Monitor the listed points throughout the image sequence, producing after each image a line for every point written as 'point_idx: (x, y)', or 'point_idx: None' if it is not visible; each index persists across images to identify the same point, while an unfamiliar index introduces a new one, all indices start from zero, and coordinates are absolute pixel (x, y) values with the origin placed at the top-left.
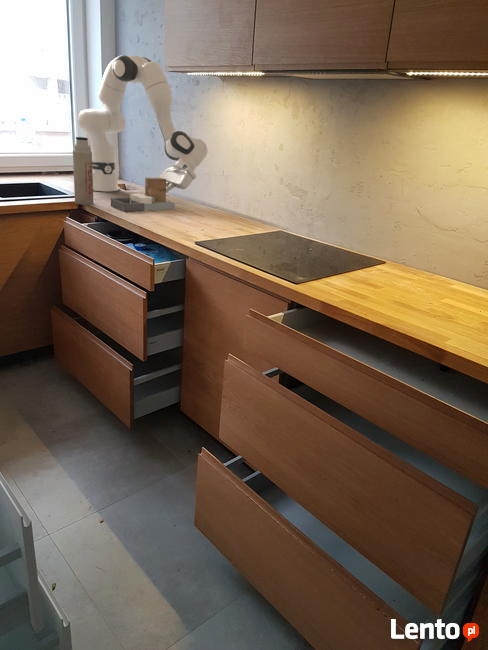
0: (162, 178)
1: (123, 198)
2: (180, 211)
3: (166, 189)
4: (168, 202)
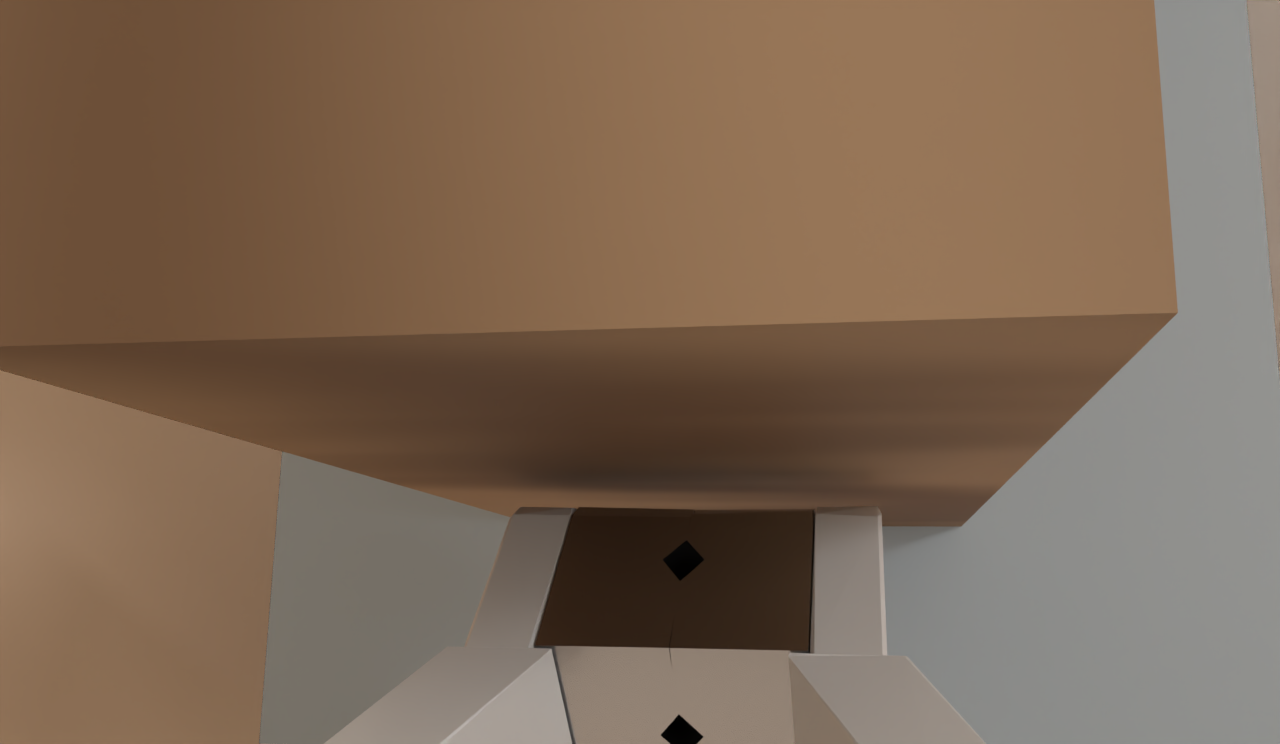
0: (556, 237)
1: None
2: (66, 722)
3: (504, 598)
4: (372, 535)
